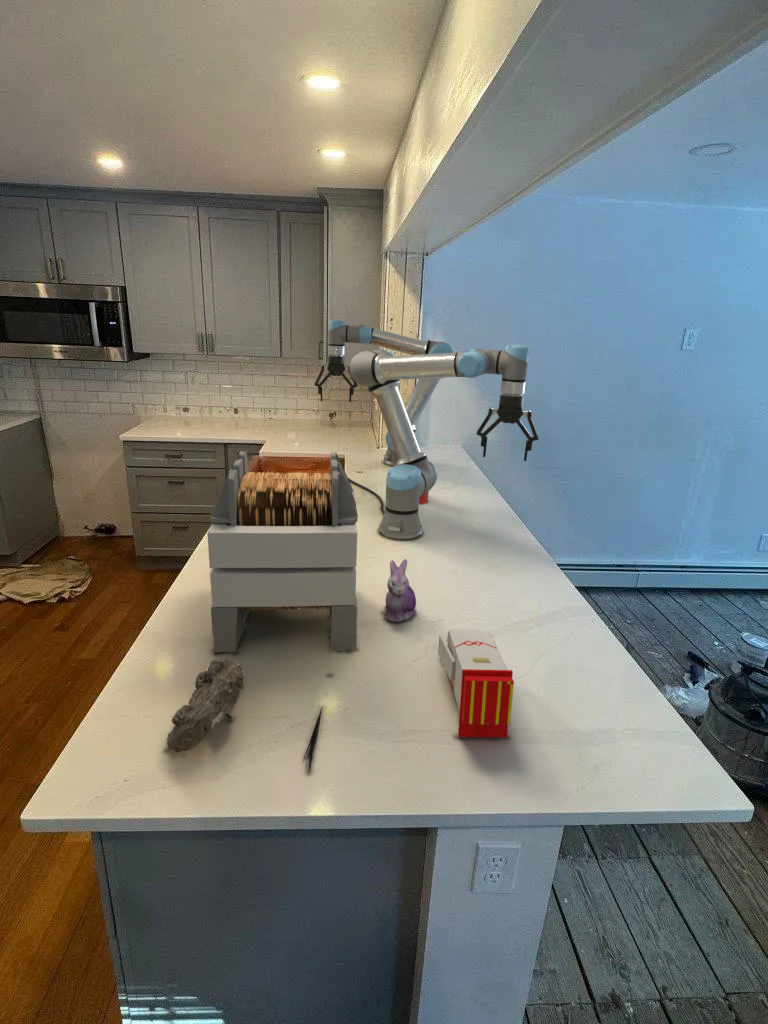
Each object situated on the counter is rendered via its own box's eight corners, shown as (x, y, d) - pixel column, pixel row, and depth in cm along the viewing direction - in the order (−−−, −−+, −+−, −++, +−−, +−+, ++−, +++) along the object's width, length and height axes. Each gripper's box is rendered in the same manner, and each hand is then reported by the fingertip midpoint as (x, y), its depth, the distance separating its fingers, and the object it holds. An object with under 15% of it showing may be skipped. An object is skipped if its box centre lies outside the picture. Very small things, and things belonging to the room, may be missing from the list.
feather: (331, 679, 122) (336, 673, 122) (307, 777, 96) (313, 769, 95) (324, 675, 122) (329, 669, 121) (298, 772, 95) (304, 764, 95)
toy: (488, 613, 130) (523, 677, 101) (484, 667, 133) (517, 744, 104) (435, 612, 130) (455, 676, 101) (432, 666, 133) (451, 743, 103)
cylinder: (420, 505, 230) (422, 475, 225) (404, 501, 234) (406, 471, 230) (431, 501, 236) (433, 471, 231) (415, 496, 240) (417, 467, 236)
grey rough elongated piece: (192, 660, 117) (244, 628, 112) (224, 691, 120) (276, 661, 115) (142, 746, 98) (202, 712, 93) (182, 779, 101) (242, 748, 96)
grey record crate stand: (232, 584, 158) (225, 442, 144) (349, 583, 162) (353, 444, 148) (211, 655, 127) (198, 480, 113) (357, 651, 130) (362, 482, 117)
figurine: (392, 627, 141) (395, 572, 136) (374, 608, 149) (376, 556, 144) (425, 619, 145) (429, 566, 140) (405, 601, 154) (408, 550, 149)
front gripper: (551, 395, 185) (542, 459, 192) (474, 390, 190) (468, 452, 197) (552, 399, 178) (542, 464, 185) (472, 393, 183) (466, 457, 190)
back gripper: (309, 355, 257) (309, 402, 265) (363, 357, 260) (362, 403, 268) (309, 353, 264) (309, 399, 272) (362, 355, 267) (361, 400, 275)
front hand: (504, 458), depth 191 cm, fingers open, 13 cm apart
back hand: (335, 401), depth 270 cm, fingers open, 13 cm apart
